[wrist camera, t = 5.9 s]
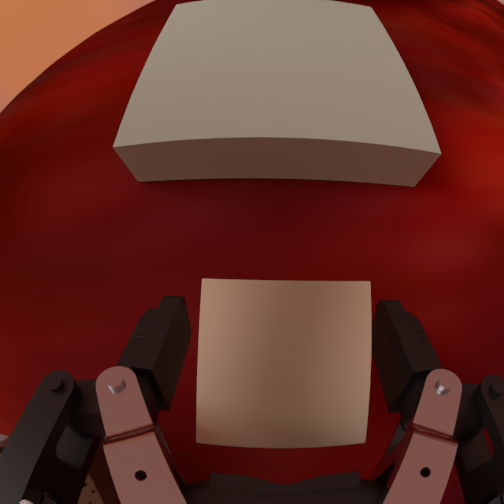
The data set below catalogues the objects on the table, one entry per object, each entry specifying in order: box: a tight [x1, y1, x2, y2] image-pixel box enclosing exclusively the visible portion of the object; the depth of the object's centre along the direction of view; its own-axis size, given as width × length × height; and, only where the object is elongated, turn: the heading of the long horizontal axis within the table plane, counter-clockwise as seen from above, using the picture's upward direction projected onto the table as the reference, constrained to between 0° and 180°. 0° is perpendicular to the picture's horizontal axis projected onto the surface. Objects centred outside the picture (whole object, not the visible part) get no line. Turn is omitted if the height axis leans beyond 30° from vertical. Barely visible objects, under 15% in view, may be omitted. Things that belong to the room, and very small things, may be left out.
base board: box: [113, 0, 441, 187], centre depth 18 cm, size 18×18×4 cm
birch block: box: [196, 279, 372, 448], centre depth 11 cm, size 4×4×8 cm
